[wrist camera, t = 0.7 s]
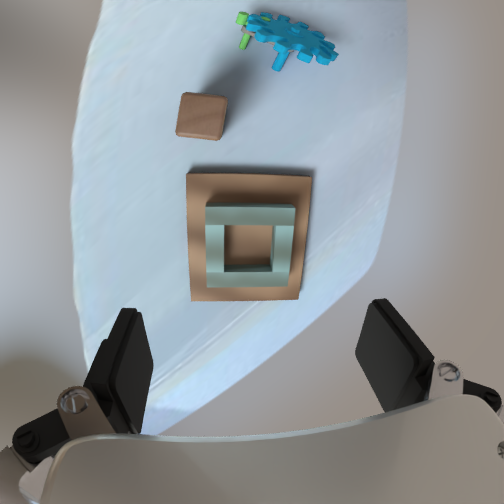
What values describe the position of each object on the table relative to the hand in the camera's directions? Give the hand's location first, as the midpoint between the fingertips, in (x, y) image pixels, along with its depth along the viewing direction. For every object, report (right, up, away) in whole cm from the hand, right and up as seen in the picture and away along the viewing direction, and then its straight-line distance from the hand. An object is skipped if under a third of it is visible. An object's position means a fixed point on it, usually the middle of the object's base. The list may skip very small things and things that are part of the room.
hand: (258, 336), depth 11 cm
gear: (+3, +27, +15) cm, 31 cm away
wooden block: (-5, +18, +18) cm, 26 cm away
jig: (-1, +5, +24) cm, 24 cm away
